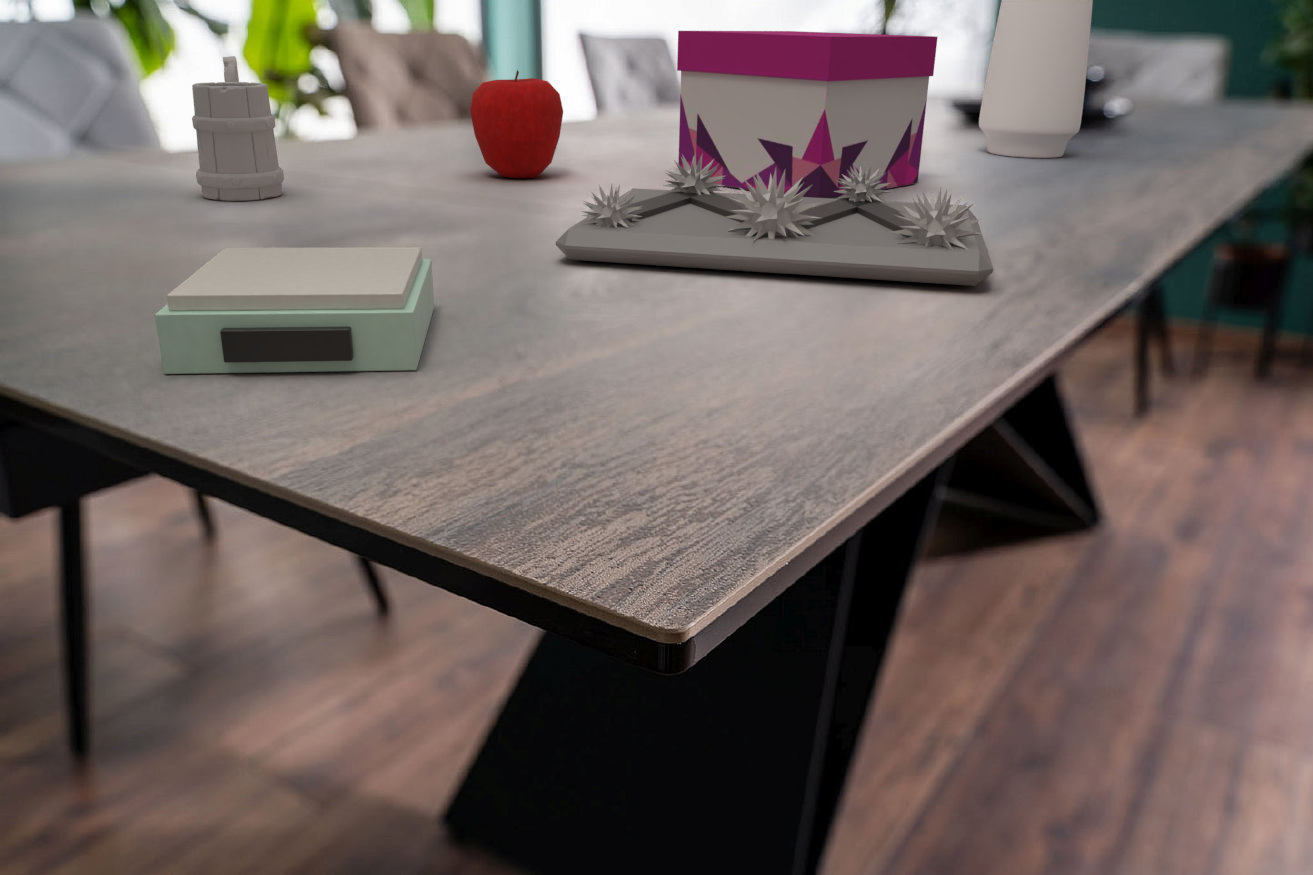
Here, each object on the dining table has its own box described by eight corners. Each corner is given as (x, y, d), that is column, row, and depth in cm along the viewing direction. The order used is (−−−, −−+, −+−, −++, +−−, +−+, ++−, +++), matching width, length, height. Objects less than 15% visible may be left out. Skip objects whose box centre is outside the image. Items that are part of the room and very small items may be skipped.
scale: (160, 377, 52) (148, 300, 50) (225, 310, 63) (217, 245, 62) (416, 374, 53) (411, 298, 52) (434, 308, 64) (430, 245, 63)
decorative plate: (973, 234, 90) (984, 147, 87) (991, 295, 70) (1006, 185, 68) (624, 213, 96) (625, 130, 93) (551, 264, 76) (549, 161, 74)
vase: (988, 145, 154) (1016, -71, 144) (1083, 152, 148) (1120, -72, 138) (964, 154, 144) (992, -78, 133) (1065, 162, 138) (1103, -80, 127)
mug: (196, 203, 96) (177, 60, 92) (203, 183, 107) (186, 55, 102) (286, 200, 99) (272, 61, 94) (284, 181, 109) (271, 55, 105)
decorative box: (781, 165, 129) (790, 31, 123) (921, 184, 117) (937, 36, 111) (674, 179, 116) (678, 30, 111) (818, 202, 104) (831, 36, 99)
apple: (536, 168, 122) (534, 66, 118) (581, 179, 115) (581, 71, 111) (456, 173, 117) (451, 67, 113) (499, 185, 109) (495, 72, 106)
